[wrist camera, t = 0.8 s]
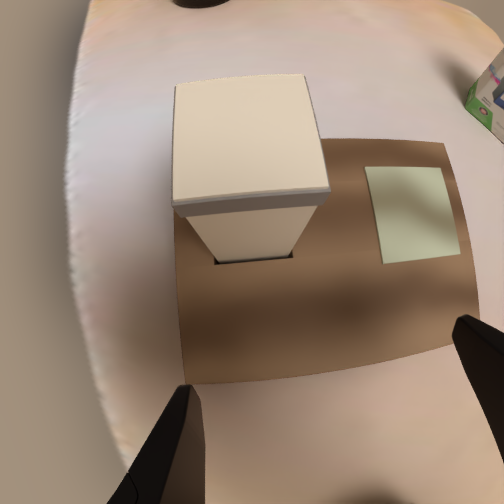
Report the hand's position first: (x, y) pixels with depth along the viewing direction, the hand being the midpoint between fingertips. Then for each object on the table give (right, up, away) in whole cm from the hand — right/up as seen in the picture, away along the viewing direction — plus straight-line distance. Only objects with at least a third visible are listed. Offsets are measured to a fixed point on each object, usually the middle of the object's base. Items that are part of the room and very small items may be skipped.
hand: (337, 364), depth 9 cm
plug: (-3, +5, +14) cm, 15 cm away
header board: (+3, +3, +14) cm, 15 cm away
